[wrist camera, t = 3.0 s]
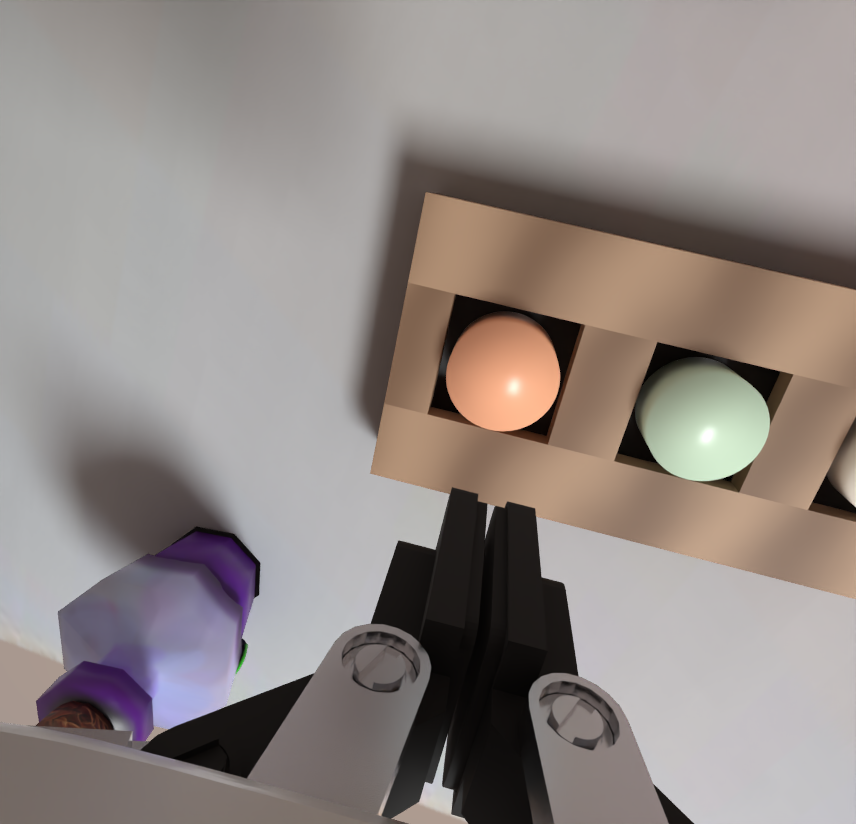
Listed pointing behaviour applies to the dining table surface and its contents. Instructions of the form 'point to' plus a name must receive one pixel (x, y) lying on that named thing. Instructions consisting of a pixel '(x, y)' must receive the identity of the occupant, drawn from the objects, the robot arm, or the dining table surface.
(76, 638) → the potion bottle
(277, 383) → the dining table surface
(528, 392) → the terracotta button
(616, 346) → the button deck
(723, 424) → the sage button
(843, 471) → the cream button
